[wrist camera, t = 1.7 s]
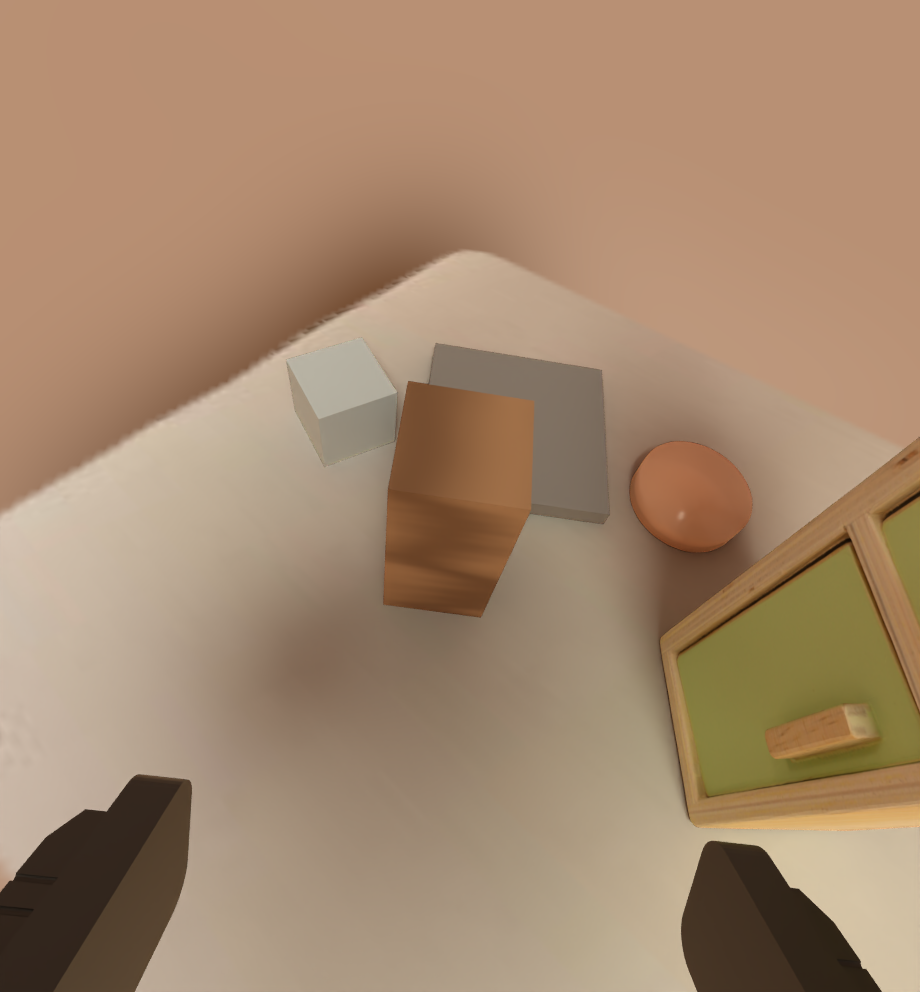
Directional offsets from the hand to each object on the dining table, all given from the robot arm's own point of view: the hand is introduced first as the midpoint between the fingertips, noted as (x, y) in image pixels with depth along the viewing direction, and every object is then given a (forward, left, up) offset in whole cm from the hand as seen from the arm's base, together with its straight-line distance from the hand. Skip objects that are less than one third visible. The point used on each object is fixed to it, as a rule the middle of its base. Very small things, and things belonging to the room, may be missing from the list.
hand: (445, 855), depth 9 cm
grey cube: (-1, -20, -15) cm, 25 cm away
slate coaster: (-10, -18, -15) cm, 25 cm away
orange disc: (-18, -12, -15) cm, 26 cm away
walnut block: (-4, -11, -15) cm, 19 cm away
